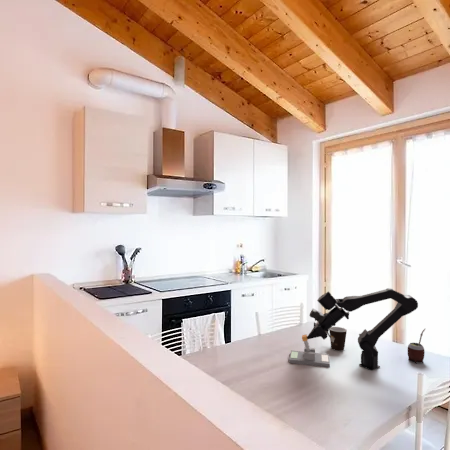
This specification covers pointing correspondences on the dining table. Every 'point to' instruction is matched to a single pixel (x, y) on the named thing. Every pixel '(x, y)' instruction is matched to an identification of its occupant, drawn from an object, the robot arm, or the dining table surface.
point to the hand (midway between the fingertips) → (307, 338)
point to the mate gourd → (416, 351)
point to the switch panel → (310, 362)
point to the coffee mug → (337, 338)
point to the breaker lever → (306, 343)
